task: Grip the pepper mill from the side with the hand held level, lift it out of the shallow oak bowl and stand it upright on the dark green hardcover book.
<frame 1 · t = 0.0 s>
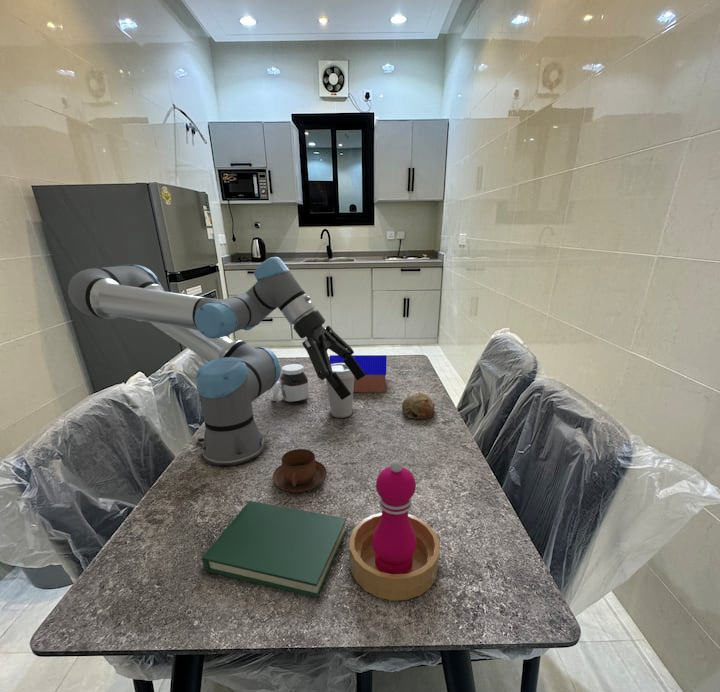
hand: (354, 386, 98), 15 cm above the table, tool tilted 35°, fingers open, 13 cm apart
spread jar: (289, 401, 129), on the table
pepper mill: (393, 563, 65), resting on bowl
book: (280, 549, 68), on the table
coffee cup: (341, 413, 119), on the table
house: (358, 386, 140), on the table
bread roll: (418, 413, 119), on the table
cup and saucer: (300, 481, 87), on the table
bowl: (393, 564, 65), on the table
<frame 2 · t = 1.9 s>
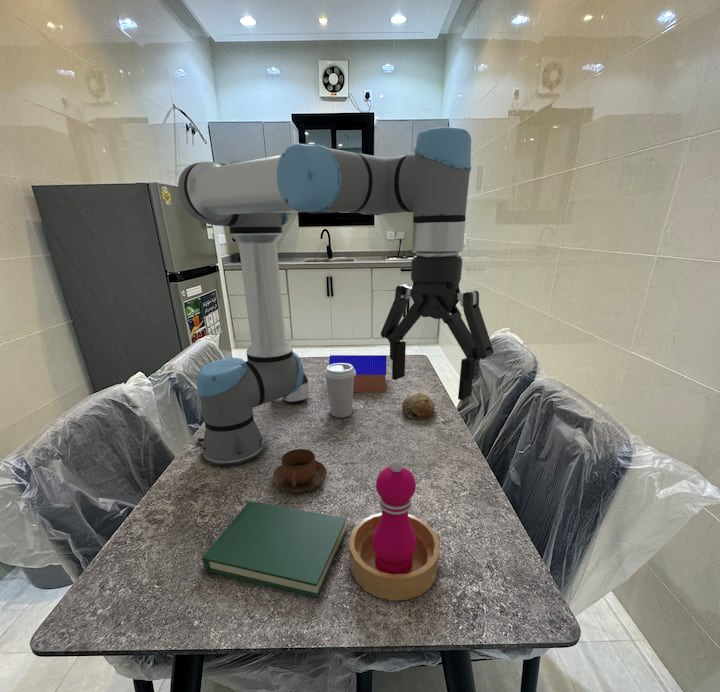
hand: (429, 387, 66), 27 cm above the table, tool pointing down, fingers open, 13 cm apart
nothing on the table moved.
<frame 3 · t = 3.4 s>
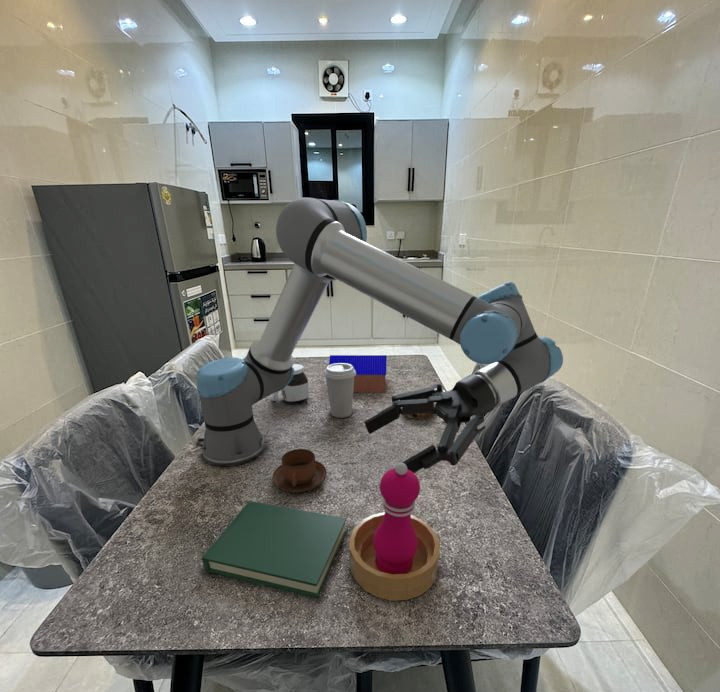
hand: (382, 448, 66), 17 cm above the table, tool tilted 70°, fingers open, 13 cm apart
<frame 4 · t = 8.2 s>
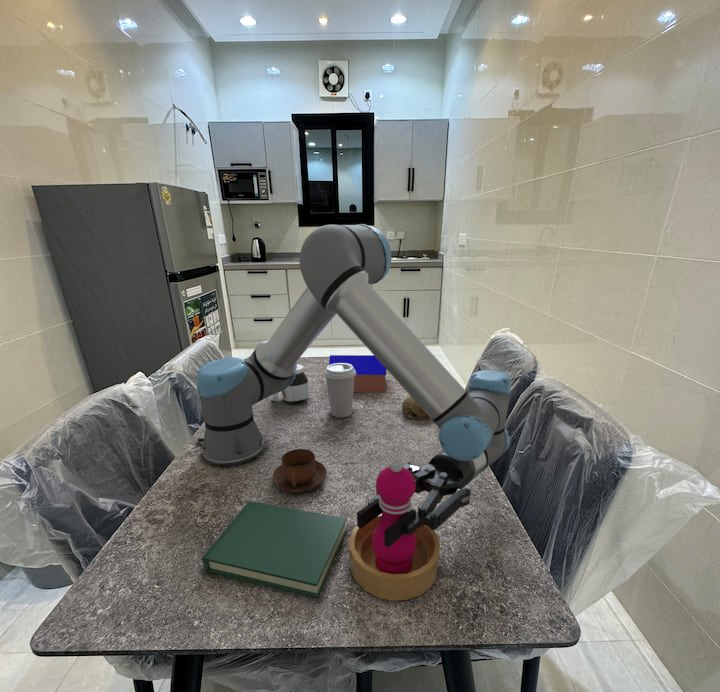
hand: (372, 529, 57), 11 cm above the table, tool horizontal, fingers closed on pepper mill, 5 cm apart
pepper mill: (393, 563, 65), resting on bowl, touching gripper
everything else where it was.
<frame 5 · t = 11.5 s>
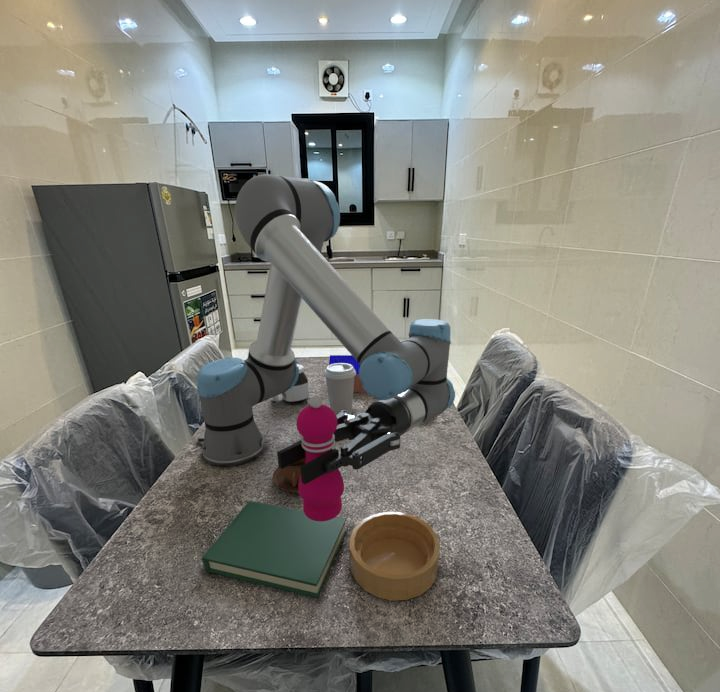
hand: (290, 467, 55), 21 cm above the table, tool horizontal, fingers closed on pepper mill, 5 cm apart
pepper mill: (322, 509, 63), point 10 cm above the table, touching gripper
everything else where it was.
when the fingers open (14 cm above the table, at t = 15.0 s): pepper mill stays where it is, resting on book.
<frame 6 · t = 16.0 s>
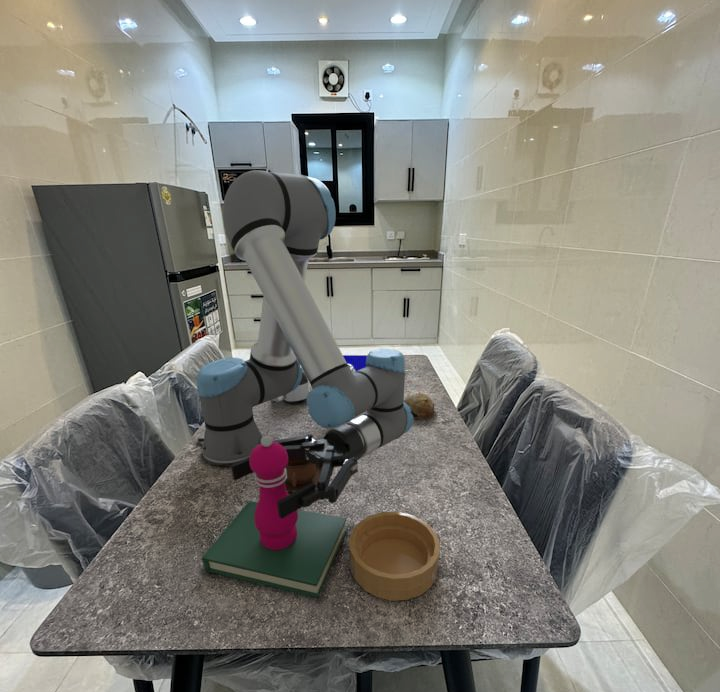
hand: (254, 490, 60), 15 cm above the table, tool horizontal, fingers open, 13 cm apart
pepper mill: (279, 537, 67), point 3 cm above the table, touching book
everything else where it was.
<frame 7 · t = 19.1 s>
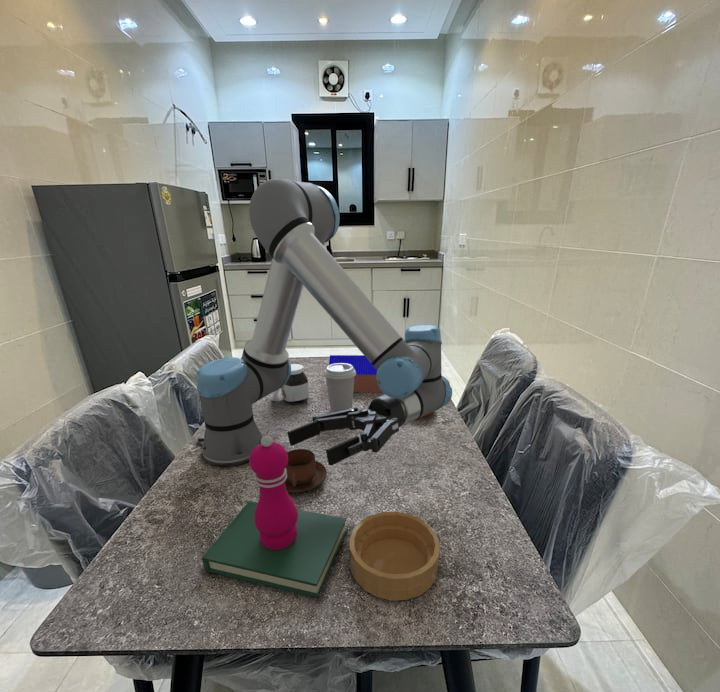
hand: (307, 447, 68), 16 cm above the table, tool horizontal, fingers open, 13 cm apart
nothing on the table moved.
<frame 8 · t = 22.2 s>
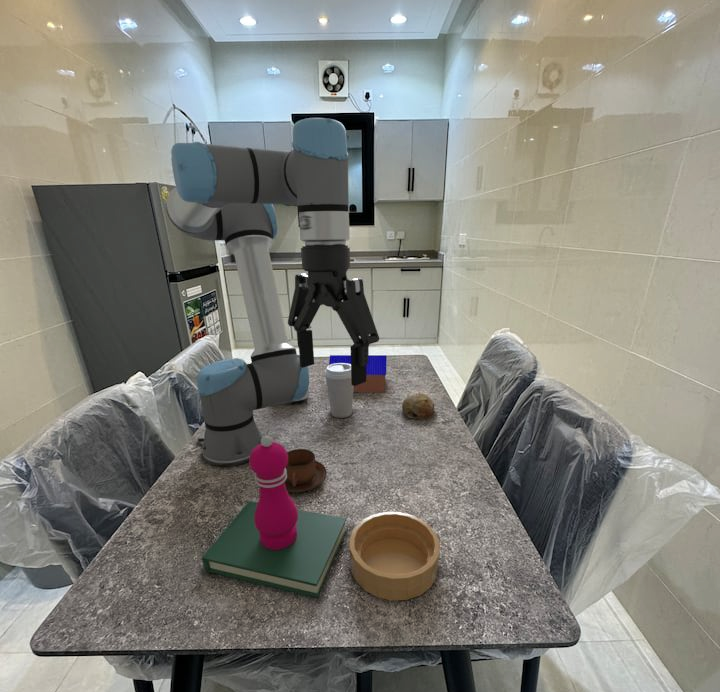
hand: (331, 374, 67), 29 cm above the table, tool pointing down, fingers open, 13 cm apart
nothing on the table moved.
at the end: pepper mill inside the target area on the book (0.0 cm from its centre), point 2.8 cm above the book's base; pepper mill tilted 0°; the gripper is holding nothing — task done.
